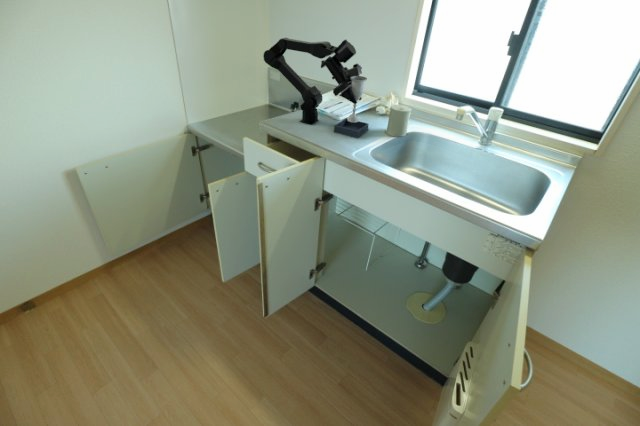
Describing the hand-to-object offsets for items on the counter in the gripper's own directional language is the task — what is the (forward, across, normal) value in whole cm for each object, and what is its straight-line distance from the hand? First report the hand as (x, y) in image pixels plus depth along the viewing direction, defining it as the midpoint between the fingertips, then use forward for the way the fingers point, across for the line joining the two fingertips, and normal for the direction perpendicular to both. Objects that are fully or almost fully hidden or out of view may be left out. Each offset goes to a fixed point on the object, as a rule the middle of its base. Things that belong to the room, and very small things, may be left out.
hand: (358, 101), depth 140 cm
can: (+22, +8, -3) cm, 23 cm away
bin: (+8, 0, +10) cm, 13 cm away
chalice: (+5, 0, +7) cm, 9 cm away
